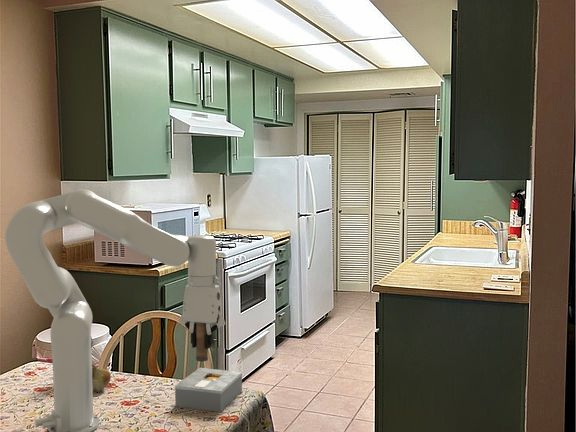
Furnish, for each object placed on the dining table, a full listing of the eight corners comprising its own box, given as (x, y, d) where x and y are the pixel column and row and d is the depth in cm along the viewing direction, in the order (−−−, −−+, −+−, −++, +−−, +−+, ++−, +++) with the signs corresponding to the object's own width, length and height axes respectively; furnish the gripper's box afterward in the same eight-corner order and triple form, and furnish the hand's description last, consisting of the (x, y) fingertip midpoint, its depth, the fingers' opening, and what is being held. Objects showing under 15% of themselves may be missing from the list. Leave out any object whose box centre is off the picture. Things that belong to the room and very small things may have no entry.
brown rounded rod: (199, 362, 159) (199, 318, 158) (194, 359, 161) (194, 316, 160) (210, 360, 161) (210, 317, 160) (204, 357, 163) (204, 314, 162)
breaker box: (220, 412, 163) (220, 390, 162) (175, 406, 167) (175, 385, 166) (241, 391, 178) (241, 371, 178) (200, 386, 182) (199, 367, 182)
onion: (102, 395, 175) (101, 369, 174) (78, 393, 177) (77, 367, 176) (115, 386, 182) (115, 361, 181) (93, 384, 184) (92, 359, 184)
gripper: (235, 280, 161) (234, 345, 162) (180, 276, 165) (180, 340, 166) (225, 285, 154) (224, 353, 155) (168, 281, 158) (168, 348, 159)
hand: (201, 346), depth 161 cm, fingers closed on brown rounded rod, 3 cm apart
